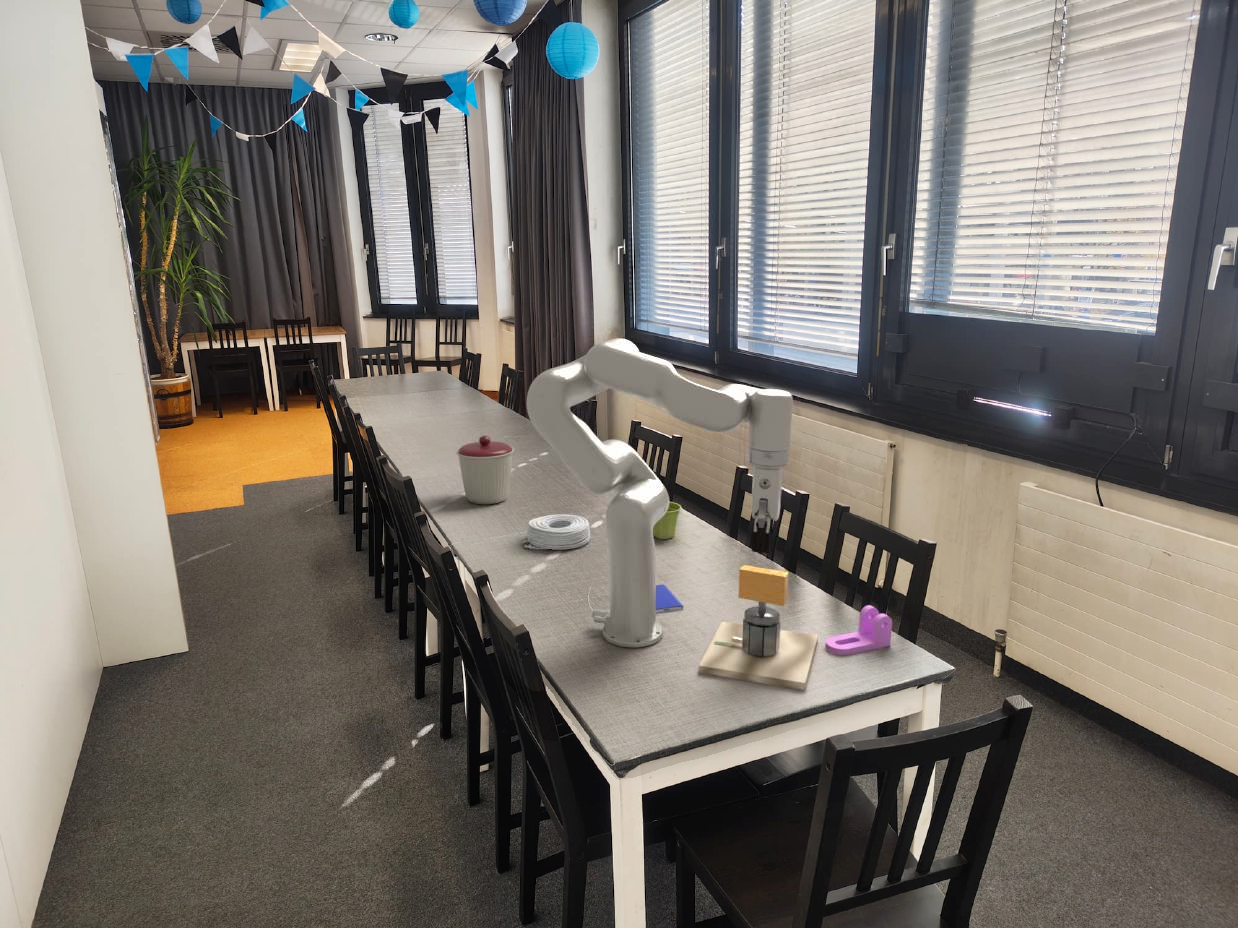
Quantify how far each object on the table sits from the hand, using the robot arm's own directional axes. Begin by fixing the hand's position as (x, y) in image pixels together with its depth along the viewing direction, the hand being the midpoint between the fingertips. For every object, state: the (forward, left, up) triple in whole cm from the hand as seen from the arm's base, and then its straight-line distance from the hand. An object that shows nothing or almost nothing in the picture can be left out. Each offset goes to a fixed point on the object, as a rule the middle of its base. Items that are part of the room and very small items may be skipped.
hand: (762, 542), depth 158 cm
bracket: (+18, +11, -24) cm, 32 cm away
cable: (-64, +48, -25) cm, 84 cm away
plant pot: (-37, +61, -24) cm, 76 cm away
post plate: (+1, 0, -24) cm, 24 cm away
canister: (-100, +75, -24) cm, 128 cm away
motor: (0, 0, -22) cm, 22 cm away
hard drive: (-27, +19, -25) cm, 41 cm away
